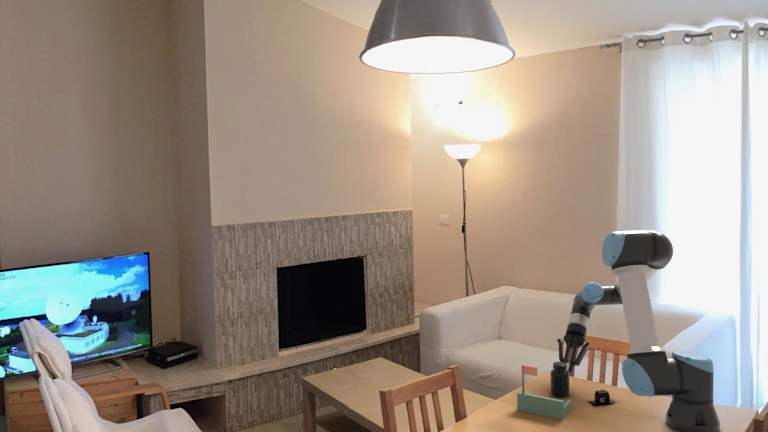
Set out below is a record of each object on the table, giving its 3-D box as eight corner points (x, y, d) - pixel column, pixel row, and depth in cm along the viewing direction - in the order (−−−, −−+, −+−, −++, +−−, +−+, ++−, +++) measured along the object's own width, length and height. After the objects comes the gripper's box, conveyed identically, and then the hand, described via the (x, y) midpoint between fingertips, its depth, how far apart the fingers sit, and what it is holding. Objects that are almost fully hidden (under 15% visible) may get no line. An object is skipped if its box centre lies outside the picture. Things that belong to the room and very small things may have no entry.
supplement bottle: (546, 395, 212) (546, 363, 211) (556, 390, 216) (556, 359, 216) (563, 399, 207) (563, 367, 206) (573, 394, 211) (572, 363, 210)
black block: (611, 398, 208) (611, 386, 208) (624, 405, 201) (623, 393, 201) (581, 402, 205) (580, 390, 205) (592, 410, 198) (592, 397, 198)
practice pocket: (528, 400, 207) (527, 357, 206) (572, 409, 198) (571, 363, 197) (517, 410, 199) (516, 365, 198) (562, 419, 189) (562, 372, 189)
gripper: (595, 334, 229) (584, 387, 216) (563, 330, 236) (550, 381, 224) (591, 323, 224) (580, 377, 211) (559, 320, 232) (545, 372, 219)
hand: (564, 379), depth 218 cm, fingers closed
